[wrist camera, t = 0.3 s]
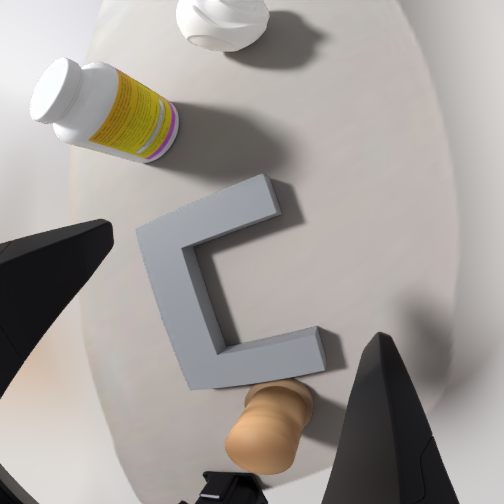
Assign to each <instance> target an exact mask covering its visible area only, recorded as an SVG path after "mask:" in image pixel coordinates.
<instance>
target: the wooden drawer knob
mask: <svg viewBox="0 0 504 504" xmlns="http://www.w3.org/2000/svg"><path fill="white" fill-rule="evenodd" d="M313 409H314V400H313V397H312V394H311V392H310V391H309V390H308V388H307V387H306V386H305V385H304V384H302V383H301V382H299V381H298V380H296V379H293V378H291V377H290V378H284V379H279V380H273V381H267V382H260V383H255V384H254V385H253V386H252V387H251V389H250V391H249V392H248V394H247V396H246V398H245V410H244V411H243V413H242V415H241V416H240V418H239V419H238V421H237V423H236V424H235V426H234V427H233V429H232V431H231V432H230V434H229V435H228V437H227V439H226V441H225V449H226V452H227V454H228V456H229V457H230V459H231V460H232V461H233V462H234V463H235V464H236V465H238V466H239V467H241V468H243V469H245V470H247V471H249V472H252V473H256V474H261V475H273V474H278V473H281V472H284V471H286V470H287V469H288V468H290V466H291V465H292V464H293V461H294V458H295V455H296V451H297V448H298V444H299V441H300V437H301V433H302V430H303V428H304V427H305V426H306V425H307V424H308V423H309V421H310V420H311V417H312V414H313Z"/></svg>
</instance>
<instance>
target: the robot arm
mask: <svg viewBox="0 0 504 504" xmlns="http://www.w3.org/2000/svg"><path fill="white" fill-rule="evenodd" d="M113 245H114V238H113V227H112V224H111V222H109V221H107V220H105V219H97V220H93V221H88V222H84V223H79V224H75V225H71V226H67V227H62V228H58V229H54V230H50V231H46V232H42V233H38V234H34V235H31V236H26V237H23V238H19V239H15V240H13V241H8V242H5V243H1V244H0V399H1V397H2V396H3V394H4V392H5V391H6V389H7V388H8V386H9V384H10V383H11V381H12V380H13V378H14V377H15V375H16V374H17V372H18V371H19V369H20V368H21V366H22V365H23V363H24V361H25V360H26V359H27V357H28V356H29V355H30V353H31V352H32V350H33V349H34V348H35V346H36V345H37V343H38V342H39V340H40V339H41V338H42V337H43V335H44V334H45V333H46V331H47V330H48V329H49V328H50V326H51V325H52V324H53V322H54V321H55V320H56V318H57V317H58V316H59V315H60V313H61V312H62V311H63V310H64V309H65V307H66V306H67V305H68V304H69V303H70V301H71V300H72V299H73V298H74V296H75V295H76V294H77V293H78V292H79V291H80V289H81V288H82V287H83V286H84V285H85V284H86V282H87V281H88V280H89V279H90V277H91V276H92V275H93V273H94V272H95V271H96V269H97V268H98V266H99V265H100V264H101V262H102V261H103V260H104V258H105V257H106V256H107V254H108V253H109V252H110V250H111V249H112V247H113ZM203 477H204V478H205V480H206V482H207V484H206V485H205V487H204V488H203V490H202V491H201V493H200V494H199V495H200V497H199V498H198V500H197V501H196V503H195V504H268V501H267V500H266V498H265V496H264V494H263V492H262V490H261V488H260V486H259V485H258V483H257V481H256V479H255V477H254V475H252V474H250V473H221V472H204V473H203ZM0 504H39V503H38V502H37V501H36V500H35V499H33V497H32V496H30V495H29V494H28V493H27V492H26V491H25V490H24V489H23V488H22V487H21V486H20V485H19V484H18V483H17V482H16V481H15V479H14V478H13V477H12V476H11V475H10V474H9V473H8V472H7V471H6V470H5V468H4V467H3V466H2V465H1V464H0ZM179 504H188V503H187V502H185V501H183V500H182V501H181V502H180V503H179ZM321 504H459V501H458V499H457V496H456V493H455V491H454V488H453V486H452V484H451V481H450V479H449V477H448V474H447V471H446V469H445V467H444V464H443V462H442V459H441V456H440V453H439V450H438V448H437V445H436V442H435V439H434V437H433V436H432V431H431V428H430V426H429V423H428V420H427V418H426V415H425V413H424V410H423V407H422V405H421V402H420V400H419V398H418V395H417V393H416V390H415V388H414V386H413V383H412V381H411V379H410V376H409V374H408V372H407V369H406V367H405V365H404V363H403V360H402V358H401V356H400V354H399V352H398V350H397V347H396V345H395V343H394V341H393V339H392V337H391V336H390V335H388V334H385V333H382V332H377V333H376V334H375V336H374V337H373V338H372V339H371V341H370V342H369V343H368V345H367V346H366V347H365V349H364V350H363V353H362V356H361V359H360V363H359V367H358V370H357V374H356V377H355V381H354V384H353V387H352V390H351V394H350V397H349V401H348V406H347V410H346V415H345V420H344V424H343V429H342V433H341V437H340V441H339V445H338V449H337V453H336V457H335V461H334V464H333V468H332V471H331V475H330V478H329V481H328V485H327V488H326V491H325V494H324V497H323V500H322V503H321Z"/></svg>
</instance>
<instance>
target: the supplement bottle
mask: <svg viewBox="0 0 504 504" xmlns="http://www.w3.org/2000/svg"><path fill="white" fill-rule="evenodd" d="M30 115H31V118H32V119H33V120H35V121H38V122H41V123H44V124H49V123H50V124H51V123H53V126H54V130H55V133H56V134H57V136H58V137H59V138H60V139H61V140H62V141H63V142H65V143H68V144H72V145H75V146H79V147H84V148H87V149H91V150H95V151H99V152H103V153H106V154H110V155H113V156H117V157H120V158H124V159H127V160H131V161H135V162H139V163H147V162H151V161H154V160H156V159H158V158H159V157H161V156H162V155H163V154H164V153H165V152H166V151H167V150H168V149H169V148H170V146H171V145H172V143H173V142H174V140H175V137H176V135H177V132H178V127H179V117H178V113H177V110H176V108H175V107H174V105H173V104H172V103H171V102H169V101H168V100H166V99H165V98H163V97H162V96H160V95H159V94H157V93H155V92H154V91H152V90H151V89H149V88H147V87H146V86H144V85H143V84H141V83H139V82H138V81H136V80H134V79H133V78H131V77H129V76H128V75H126V74H124V73H123V72H121V71H119V70H118V69H116V68H114V67H112V66H111V65H109V64H107V63H103V62H94V63H90V64H87V65H85V66H83V67H82V68H81V67H80V66H79V65H78V63H76V62H74V61H72V60H70V59H67V58H60V59H58V60H56V61H55V62H54V63H52V64H51V65H50V67H49V68H48V69H47V70H46V71H45V72H44V74H43V76H42V77H41V79H40V80H39V82H38V84H37V86H36V88H35V91H34V93H33V96H32V99H31V105H30Z"/></svg>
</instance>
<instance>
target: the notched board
mask: <svg viewBox="0 0 504 504" xmlns="http://www.w3.org/2000/svg"><path fill="white" fill-rule="evenodd" d="M279 215H282V213H281V210H280V207H279V204H278V201H277V198H276V195H275V192H274V189H273V186H272V184H271V181H270V178H269V177H267V176H266V175H265V174H263V173H262V174H260V175H257V176H254V177H252V178H249V179H247V180H244V181H242V182H240V183H237V184H235V185H232V186H230V187H227V188H225V189H223V190H220V191H218V192H216V193H213V194H211V195H209V196H206V197H204V198H202V199H199V200H197V201H195V202H192V203H190V204H188V205H186V206H184V207H181V208H179V209H177V210H175V211H173V212H170V213H168V214H166V215H164V216H162V217H160V218H158V219H155V220H153V221H151V222H149V223H147V224H145V225H143V226H141V227H139V228H137V229H135V230H136V234H137V238H138V242H139V246H140V249H141V253H142V256H143V260H144V263H145V267H146V270H147V274H148V277H149V280H150V283H151V287H152V290H153V293H154V296H155V299H156V302H157V305H158V308H159V311H160V314H161V317H162V320H163V323H164V325H165V328H166V331H167V334H168V336H169V339H170V342H171V344H172V347H173V350H174V352H175V355H176V357H177V360H178V362H179V365H180V367H181V370H182V372H183V375H184V377H185V380H186V382H187V384H188V387H189V389H190V390H201V389H212V388H222V387H231V386H239V385H247V384H254V383H260V382H267V381H273V380H279V379H284V378H290V377H295V376H300V375H305V374H310V373H315V372H319V371H324V370H325V366H326V356H325V352H324V349H323V345H322V342H321V338H320V335H319V331H318V328H317V326H315V327H311V328H307V329H303V330H299V331H295V332H291V333H287V334H282V335H278V336H274V337H269V338H265V339H260V340H256V341H251V342H246V343H241V344H236V345H231V346H226V344H225V341H224V339H223V336H222V333H221V330H220V327H219V324H218V322H217V319H216V316H215V313H214V310H213V307H212V304H211V301H210V298H209V295H208V292H207V289H206V286H205V283H204V280H203V277H202V274H201V270H200V267H199V264H198V261H197V258H196V254H195V251H194V248H193V247H194V246H196V245H199V244H202V243H204V242H207V241H210V240H212V239H215V238H218V237H221V236H223V235H226V234H229V233H232V232H234V231H237V230H240V229H243V228H245V227H248V226H251V225H254V224H256V223H259V222H262V221H265V220H268V219H270V218H273V217H276V216H279Z"/></svg>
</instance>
